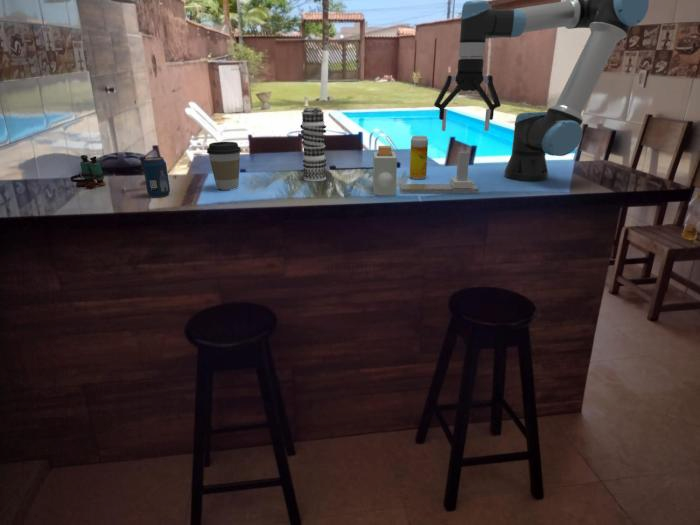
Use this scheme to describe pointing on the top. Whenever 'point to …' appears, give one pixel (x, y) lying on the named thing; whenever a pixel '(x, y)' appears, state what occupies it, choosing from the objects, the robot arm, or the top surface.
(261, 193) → the top surface
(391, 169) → the white block
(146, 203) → the top surface
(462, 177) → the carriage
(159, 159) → the soda can
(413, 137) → the beer can
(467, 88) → the robot arm
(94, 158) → the binoculars
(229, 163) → the coffee cup
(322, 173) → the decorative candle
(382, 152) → the button
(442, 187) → the rail
